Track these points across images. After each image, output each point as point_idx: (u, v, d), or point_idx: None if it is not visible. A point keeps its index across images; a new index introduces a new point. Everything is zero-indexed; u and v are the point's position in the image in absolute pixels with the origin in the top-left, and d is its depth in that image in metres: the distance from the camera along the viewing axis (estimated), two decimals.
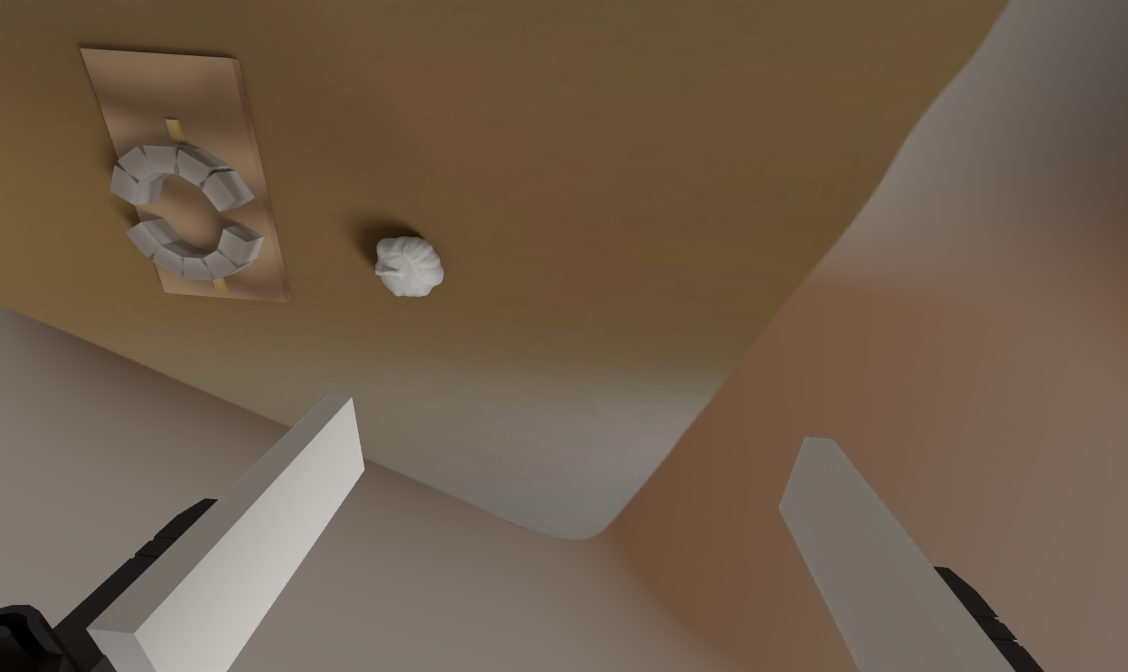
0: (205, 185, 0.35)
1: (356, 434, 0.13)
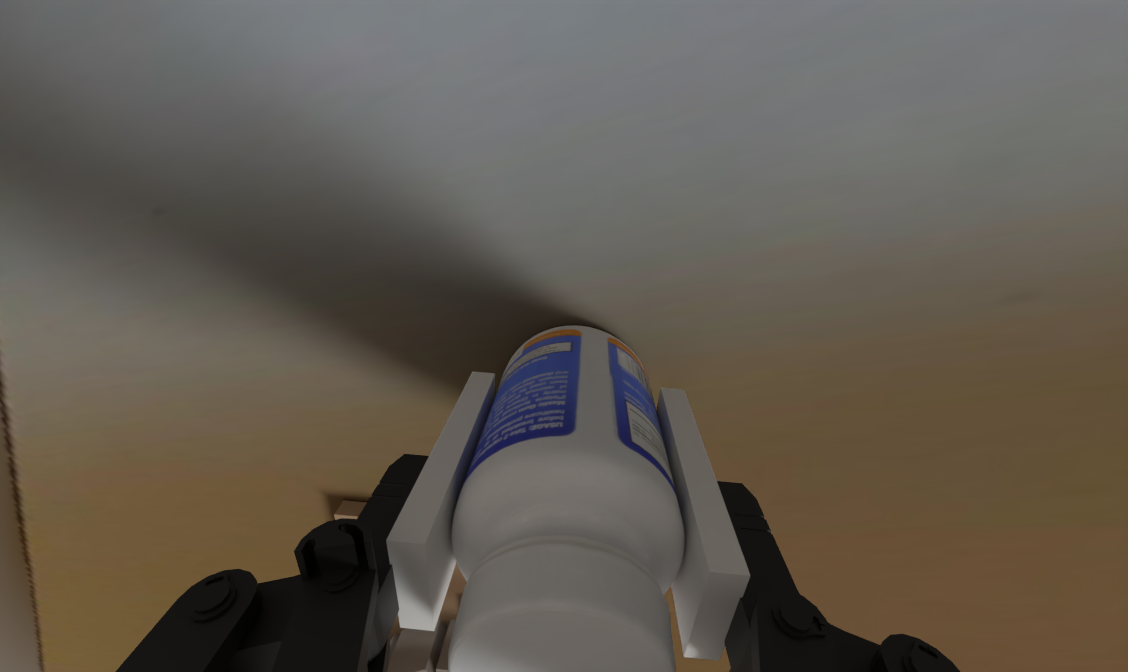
0: None
1: None
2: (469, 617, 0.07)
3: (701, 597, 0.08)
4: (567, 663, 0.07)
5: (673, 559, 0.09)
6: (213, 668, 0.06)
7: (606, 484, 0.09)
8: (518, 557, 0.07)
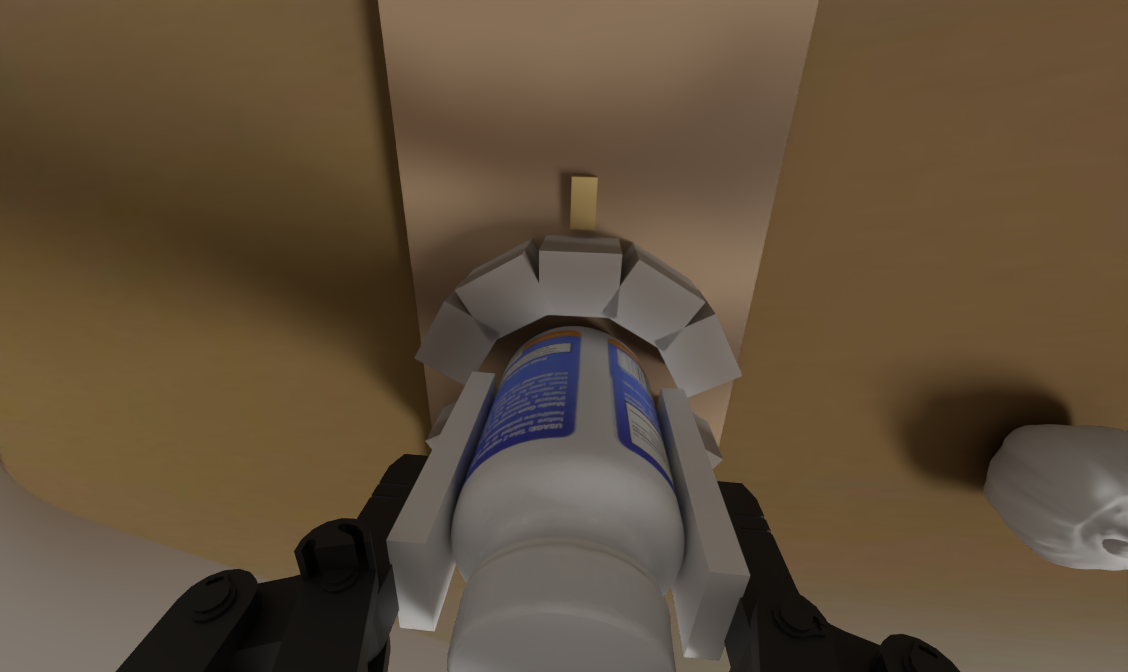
0: (675, 343, 0.14)
1: None
2: (468, 619, 0.07)
3: (701, 597, 0.08)
4: (567, 665, 0.07)
5: (673, 561, 0.09)
6: (213, 668, 0.06)
7: (606, 485, 0.09)
8: (517, 559, 0.07)
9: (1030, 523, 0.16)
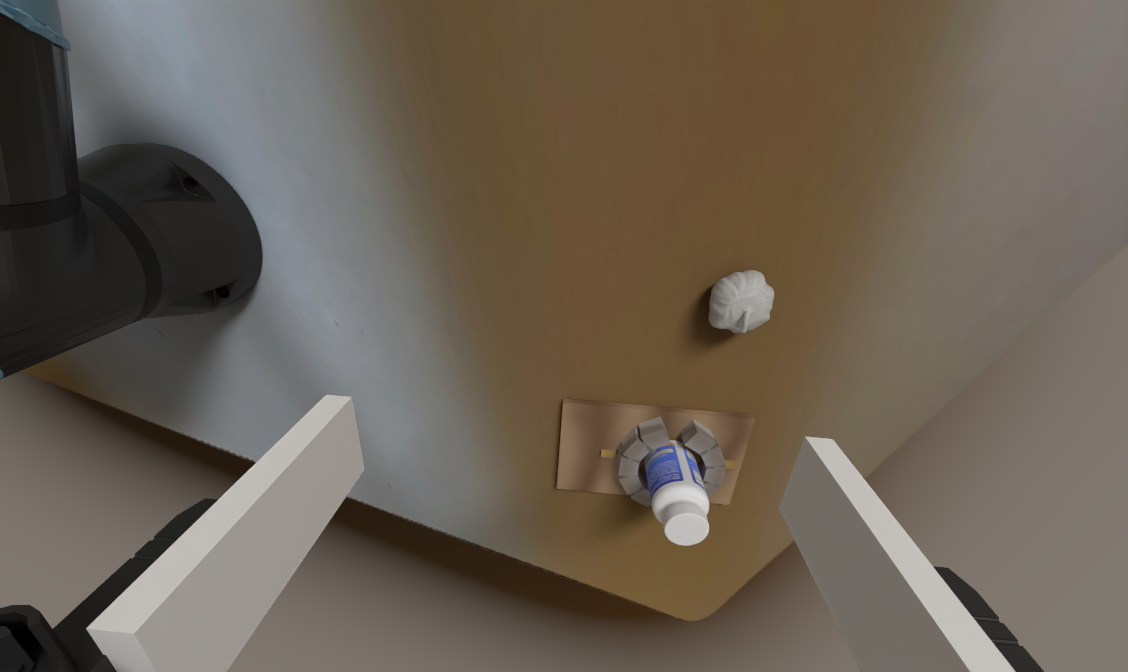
0: (649, 446, 0.44)
1: (356, 434, 0.13)
2: (671, 517, 0.38)
3: None
4: (689, 525, 0.38)
5: (707, 509, 0.40)
6: None
7: (693, 492, 0.40)
8: (678, 506, 0.39)
9: None
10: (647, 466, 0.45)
